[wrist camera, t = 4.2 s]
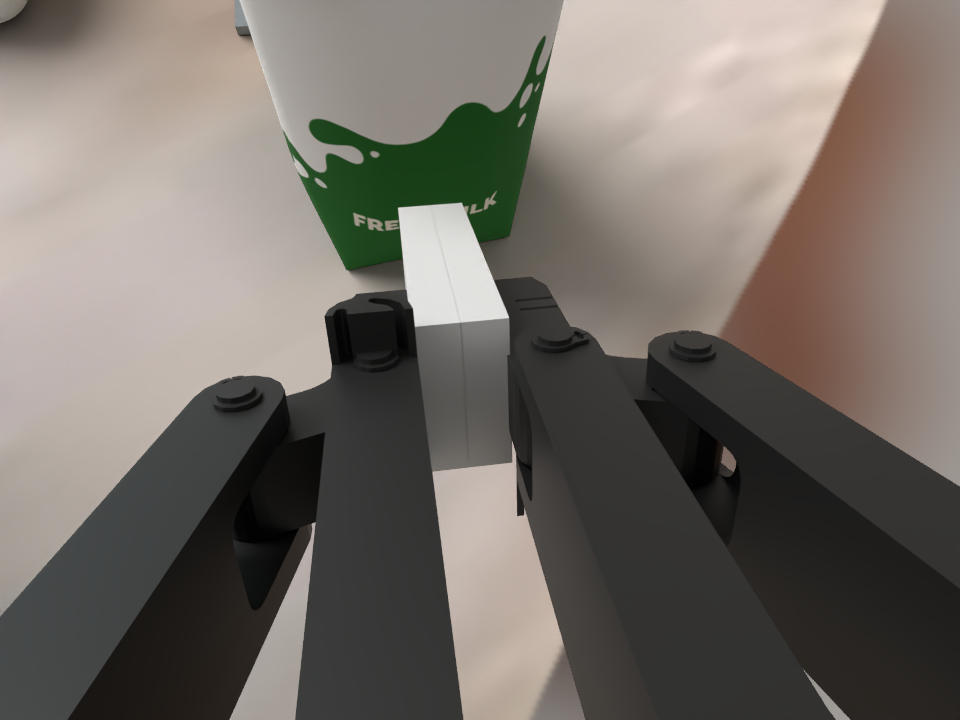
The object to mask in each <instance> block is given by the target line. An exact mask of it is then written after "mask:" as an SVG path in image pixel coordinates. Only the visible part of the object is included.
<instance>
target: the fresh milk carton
mask: <svg viewBox="0 0 960 720" xmlns="http://www.w3.org/2000/svg"><path fill="white" fill-rule="evenodd" d="M563 1H564V0H240V3H241V6H242V9H243V12H244V15H245V18H246V21H247V24H248V27H249V30H250V33H251V36H252V39H253V42H254V45H255V48H256V51H257V54H258V57H259V60H260V63H261V66H262V69H263V72H264V75H265V78H266V81H267V84H268V87H269V90H270V93H271V96H272V99H273V102H274V105H275V108H276V111H277V114H278V117H279V120H280V123H281V126H282V129H283V132H284V135H285V138H286V141H287V144H288V147H289V150H290V153H291V155H292V158H293V161H294V164H295V166H296V169H297V171H298V173H299V176H300V178H301V180H302V182H303V184H304V186H305V188H306V190H307V192H308V195H309V197H310V199H311V201H312V203H313V205H314V207H315V209H316V211H317V213H318V215H319V217H320V219H321V221H322V223H323V224H324V226H325V228H326V230H327V232H328V234H329V236H330V238H331V240H332V242H333V244H334V246H335V248H336V250H337V252H338V254H339V256H340V258H341V260H342V262H343V264H344V266H345V268H346V270H351V269H356V268H361V267H366V266H370V265H375V264H380V263H385V262H389V261H394V260H399V259H403V254H402V244H401V233H400V223H399V212H398V208H400V207H414V206H427V205H440V204H453V203H462V205H463V207H464V209H465V212H466V214H467V217H468V219H469V222H470V224H471V226H472V229H473V231H474V234H475V236H476V239H477V241H478V243H480V242H484V241H489V240H494V239H499V238H503V237H508V236H510V231H511V227H512V222H513V218H514V214H515V210H516V205H517V201H518V197H519V193H520V188H521V184H522V180H523V176H524V171H525V167H526V162H527V158H528V153H529V149H530V144H531V139H532V134H533V130H534V125H535V121H536V117H537V113H538V109H539V104H540V100H541V96H542V91H543V87H544V83H545V78H546V74H547V70H548V65H549V61H550V57H551V53H552V48H553V44H554V40H555V35H556V31H557V27H558V22H559V18H560V14H561V9H562V5H563Z"/></svg>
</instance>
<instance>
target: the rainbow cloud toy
mask: <svg viewBox="0 0 960 720" xmlns="http://www.w3.org/2000/svg"><path fill="white" fill-rule="evenodd" d="M27 1H28V0H0V23H3V22H5V21H8V20H10V19H12V18H13V17H15V16H16V15H17V14H19V13H20V12H21V11H22V9H23V8H24V7H25V5H26V3H27Z"/></svg>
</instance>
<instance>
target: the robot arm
mask: <svg viewBox="0 0 960 720" xmlns="http://www.w3.org/2000/svg"><path fill="white" fill-rule="evenodd" d="M398 212H399V223H400V233H401V244H402V254H403V264H404V275H405V285H406V290H398V291H386V292H375V293H363V294H356V295H355V296H354V297H353V298H352V299H349V300H346V301H343V302H340V303H338V304H336V305H335V306H333V307H332V308H330V309H329V310H328V311H327V313H326V315H325V316H324V317H325V323H326V329H327V335H328V342H329V348H330V354H331V361H332V372H331V378H330V379H329V380H327V381H326V382H325V383H323V384H321V385H319V386H317V387H315V388H312V389H309V390H306V391H303V392H300V393H296V394H292V395H289V396H286V395H285V390H284V388H283V386H282V385H281V383H280V382H278V381H276V380H274V379H272V378H269V377H262V376H245V377H244V376H236V377H232V379H230V378H228V379H224V380H221V381H220V382H218V383H216V384H214V385H212V386H210V387H208V388H205V389H204V390H203V391H201V392H200V393H199V394H198V395H196V396H195V397H194V398H193V399H192V400H191V401H190V403H189V404H188V405H187V406H186V407H185V408H184V409H183V411H182V412H181V413H180V414H179V415H178V416H177V417H176V418H175V420H174V421H173V422H172V423H171V424H170V425H169V426H168V427H167V429H166V430H165V431H164V432H163V433H162V434H161V435H160V437H159V438H158V439H157V440H156V441H155V442H154V443H153V444H152V446H151V447H150V448H149V449H148V450H147V451H146V452H145V454H144V455H143V456H142V457H141V458H140V459H139V460H138V461H137V463H136V464H135V465H134V466H133V467H132V468H131V469H130V471H129V472H128V473H127V474H126V475H125V476H124V477H123V478H122V480H121V481H120V482H119V483H118V484H117V485H116V486H115V488H114V489H113V490H112V491H111V492H110V493H109V494H108V495H107V497H106V498H105V499H104V500H103V501H102V502H101V503H100V504H99V506H98V507H97V508H96V509H95V510H94V511H93V512H92V514H91V515H90V516H89V517H88V518H87V519H86V520H85V521H84V523H83V524H82V525H81V526H80V527H79V528H78V529H77V531H76V532H75V533H74V534H73V535H72V536H71V537H70V538H69V540H68V541H67V542H66V543H65V544H64V545H63V546H62V548H61V549H60V550H59V551H58V552H57V553H56V554H55V555H54V557H53V558H52V559H51V560H50V561H49V562H48V563H47V565H46V566H45V567H44V568H43V569H42V570H41V571H40V572H39V574H38V575H37V576H36V577H35V578H34V579H33V580H32V581H31V583H30V584H29V585H28V586H27V587H26V588H25V589H24V591H23V592H22V593H21V594H20V595H19V596H18V597H17V598H16V600H15V601H14V602H13V603H12V604H11V605H10V606H9V608H8V609H7V610H6V611H5V612H4V613H3V614H2V615H1V617H0V720H229V719H230V717H231V715H232V712H233V710H234V708H235V706H236V703H237V701H238V699H239V697H240V695H241V692H242V690H243V688H244V686H245V684H246V681H247V679H248V677H249V675H250V672H251V670H252V668H253V666H254V664H255V661H256V659H257V657H258V655H259V652H260V650H261V648H262V646H263V644H264V641H265V639H266V637H267V635H268V632H269V630H270V628H271V626H272V624H273V621H274V619H275V617H276V615H277V612H278V610H279V608H280V606H281V604H282V601H283V599H284V597H285V595H286V593H287V590H288V588H289V586H290V584H291V581H292V579H293V577H294V575H295V573H296V570H297V568H298V566H299V564H300V561H301V559H302V557H303V555H304V553H305V550H306V548H307V546H308V544H309V541H310V539H311V533H312V525H311V524H312V523H315V522H316V525H315V535H314V545H313V554H312V564H311V574H310V583H309V593H308V602H307V612H306V622H305V631H304V641H303V650H302V660H301V670H300V679H299V689H298V699H297V708H296V718H295V720H463V714H462V706H461V698H460V690H459V682H458V674H457V666H456V658H455V650H454V642H453V634H452V626H451V618H450V610H449V602H448V594H447V586H446V578H445V571H444V563H443V555H442V547H441V539H440V531H439V523H438V515H437V507H436V499H435V491H434V483H433V475H432V471H441V470H449V469H458V468H467V467H476V466H485V465H494V464H502V463H511V462H512V441H513V445H514V448H515V451H516V468H517V516H521V515H524V507H525V510H526V514H527V517H528V521H529V524H530V528H531V531H532V535H533V538H534V542H535V545H536V549H537V552H538V556H539V559H540V563H541V566H542V570H543V573H544V577H545V580H546V584H547V587H548V591H549V594H550V598H551V601H552V605H553V608H554V612H555V615H556V618H557V622H558V625H559V629H560V632H561V636H562V639H563V643H564V646H565V650H566V653H567V656H568V660H569V664H570V667H571V671H572V674H573V678H574V681H575V685H576V688H577V692H578V695H579V699H580V702H581V706H582V709H583V712H584V716H585V719H586V720H835V718H834V717H833V715H832V714H831V713H830V712H829V710H828V709H827V707H826V706H825V704H824V702H823V701H822V699H821V698H820V696H819V694H818V693H817V691H816V690H815V688H814V687H813V685H812V683H811V682H810V680H809V678H808V677H807V675H806V674H805V672H806V673H807V674H809V676H810V677H811V678H812V679H813V680H814V681H815V682H816V683H817V684H818V685H819V686H820V687H821V689H822V690H823V691H824V692H825V693H826V694H827V695H828V696H829V697H830V698H831V699H832V700H833V701H834V702H835V703H836V705H837V706H838V707H839V708H840V709H841V710H842V711H843V712H844V713H845V714H846V715H847V716H848V717H849V718H850V720H960V486H958V485H956V484H954V483H953V482H952V481H950V480H948V479H947V478H945V477H943V476H942V475H940V474H939V473H937V472H935V471H933V470H932V469H931V468H929V467H927V466H926V465H924V464H923V463H921V462H919V461H918V460H916V459H915V458H913V457H911V456H910V455H908V454H906V453H905V452H903V451H902V450H900V449H899V448H897V447H895V446H893V445H892V444H890V443H888V442H887V441H885V440H884V439H882V438H881V437H879V436H877V435H876V434H874V433H873V432H871V431H870V430H868V429H866V428H865V427H863V426H862V425H860V424H858V423H857V422H855V421H854V420H852V419H850V418H849V417H847V416H845V415H844V414H842V413H841V412H839V411H837V410H836V409H834V408H832V407H831V406H829V405H828V404H826V403H825V402H823V401H821V400H820V399H818V398H816V397H815V396H813V395H812V394H810V393H809V392H807V391H805V390H803V389H802V388H800V387H799V386H797V385H796V384H794V383H793V382H791V381H789V380H788V379H786V378H785V377H783V376H781V375H780V374H778V373H776V372H775V371H773V370H772V369H770V368H768V367H767V366H765V365H763V364H762V363H760V362H759V361H757V360H756V359H754V358H752V357H751V356H749V355H748V354H746V353H744V352H743V351H741V350H740V349H738V348H736V347H735V346H733V345H732V344H730V343H728V342H726V341H724V340H722V339H720V338H718V337H715V336H712V335H707V334H703V333H702V332H699V331H691V332H689V331H678V332H673V333H666V334H663V335H661V336H658V337H655V338H654V339H653V340H652V341H651V342H650V343H649V346H648V357H647V359H639V358H624V357H616V356H609V355H605V353H604V352H603V350H602V348H601V347H600V345H599V344H598V342H597V340H596V339H595V338H594V337H593V336H592V335H591V334H590V333H588V332H586V331H584V330H581V329H579V328H575V327H570V325H569V324H568V322H567V320H566V319H565V317H564V315H563V313H562V312H561V310H560V308H559V307H558V305H557V303H556V301H555V300H554V299H553V296H552V294H551V293H550V291H549V289H548V288H547V286H546V285H544V284H543V283H541V282H539V281H537V280H535V279H534V278H532V277H525V278H514V279H502V280H493V277H492V275H491V273H490V270H489V268H488V265H487V263H486V260H485V258H484V256H483V253H482V251H481V248H480V246H479V243H478V241H477V239H476V236H475V234H474V231H473V229H472V226H471V224H470V222H469V219H468V217H467V214H466V212H465V209H464V207H463V205H462V203H453V204H440V205H427V206H414V207H400V208H398ZM724 446H725V447H726V448H727V449H728V450H729V451H730V452H731V453H732V455H733V456H734V458H735V460H736V468H735V471H734V472H732V471H731V470H729V469H728V468H727V467H726V466H724V465H723V464H722V463H721V460H722V453H723V447H724ZM802 668H803V669H804V670H805V672H804V670H803V669H802Z"/></svg>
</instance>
